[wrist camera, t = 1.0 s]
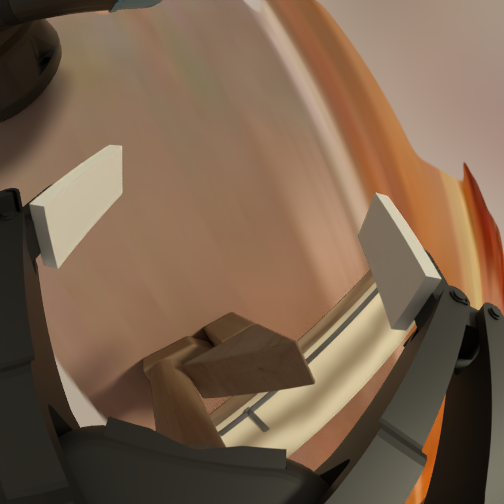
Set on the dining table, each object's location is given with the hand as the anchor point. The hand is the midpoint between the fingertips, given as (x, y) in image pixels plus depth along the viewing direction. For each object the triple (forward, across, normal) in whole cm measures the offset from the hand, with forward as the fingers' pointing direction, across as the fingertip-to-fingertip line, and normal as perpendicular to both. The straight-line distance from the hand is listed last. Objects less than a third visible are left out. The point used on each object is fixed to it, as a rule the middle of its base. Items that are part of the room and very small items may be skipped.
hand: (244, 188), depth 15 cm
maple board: (+7, +13, -24) cm, 28 cm away
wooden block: (+4, -2, -20) cm, 21 cm away
